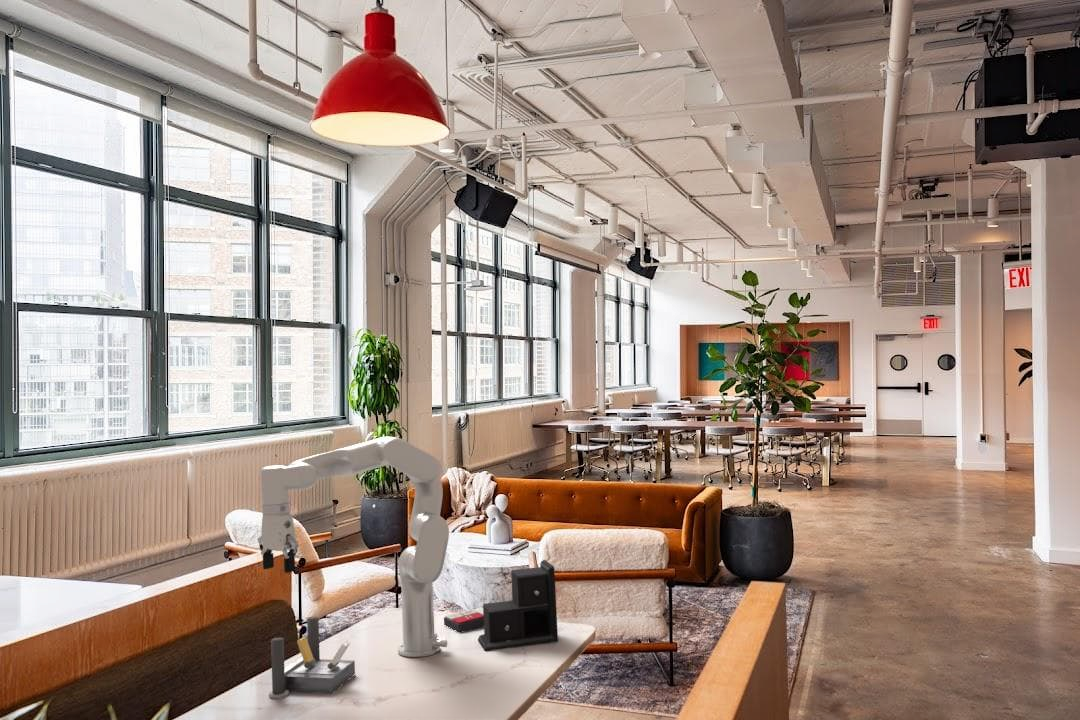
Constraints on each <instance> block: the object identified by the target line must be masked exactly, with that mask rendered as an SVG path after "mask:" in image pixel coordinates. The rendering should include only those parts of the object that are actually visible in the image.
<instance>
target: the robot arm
mask: <svg viewBox="0 0 1080 720" xmlns="http://www.w3.org/2000/svg"><path fill="white" fill-rule="evenodd" d="M385 466H391V467H393V469H395V470H397V471H399V472H401V473H403V474H405V476H406V477H408V478H409V479H410V480H411V482H412V484H413V487H414V500H413V506H412V510H411V514H410V519H409V525H408V533H409V536H410V537H411V538H412V539H413V540H414V541H416V545H412V546H408V547H406V548H405V549H404V550H403V551H402V552H401V554H400V556H399V559H398V574H399V579H400V587H401V614H402V617H401V618H402V619H401V620H402V644H401V645H400V646H399V647H397V648H398V649H397V653H398V654H399V655H401V656H402V657H407V658H408V657H409V658H420V657H421V658H423V657H427V656H431V655H434V654H436V653H438V652H439V651H440V650H441V648H447V647H448V644H449V643H448V640H447V639H446V638H439V637H438V633H435V616H434V615H435V613H434V609H435V608H434V586H433V583H434V582H435V581H437V580H438V578H440V576H441V574H442V571H443V568H444V563H445V560H446V555H447V554H446V553H447V550H448V549H447V548H448V545H449V544H448V543H449V540H450V529H449V525H448V522H447V521H446V519H444V517H442V516H441V509H442V504H443V496H444V494H443V493H444V492H443V491H444V490H443V482H442V480H441V478H440V475H441V471H442V467H441V463H440V461H439V459H437V458H436V457H435V456H434V455H433V454H430V453H429V452H426V451H425V450H423V449H420V448H419V447H417V446H414V445H413V444H411V443H410V442H408V441H406V440H404V439H402V438H401V437H395V436H390V435H389V436H388V435H386V436H381V437H378V438H374V439H371V440H368V441H365V442H360V443H357V444H353V445H350V446H346V447H343V448H338V449H335V450H332V451H327V452H323V453H319V454H315V455H311V456H308V457H304V458H301V459H298V460H295V461H292V462H291V463H289V464H288V465H287V466H286V465H283V464H281V465H280V464H279V465H278V464H275V465H268V466H264V467H262V468H261V470H260V484H261V485H260V487H261V488H260V489H261V509H262V512H261V513H262V517H261V519H262V520H261V535H260V536H259V537H258V538H257V542H258V545H259V546H258V547H259V549H260V553H261V556H262V569H263V570H268V569H273V568H274V566H275V561H274V553H273V551H276V552H282V554H283V556H284V558H283V565H284V566H283V568H284V571H283V572H284V573H285V574H288V573H292V572H295V571H296V556H297V553H298V548H299V546H300V544H299V542H298V541H297V537H296V531H295V530H296V529H295V523H294V519H293V516H292V513H291V501H290V500H291V499H290V497H291V496H290V490H295V491H297V490H299V491H305V490H306V491H307V490H309V489H311V488H313V487H314V486H316V484H317V482H318V481H320V480H324V479H327V478H329V479H330V478H334V477H350V476H356V475H359V474H362V473H365V472H369V471H372V470H374V469H378V468H381V467H385Z"/></svg>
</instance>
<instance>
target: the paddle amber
mask: <svg viewBox="0 0 1080 720" xmlns="http://www.w3.org/2000/svg"><path fill="white" fill-rule="evenodd" d="M296 642H297V645H298V649H299V652H300V654H301V657H303V660H304V663H305V664H304V666H305V668H309V667H310V666H312V665H313V664H314V663H315V662H316V660H315V659H314V658H313V655H312V652H311V650H310V647H309V644H308V637H306V636H304V637H301V638H300V639H298V640H297V641H296Z"/></svg>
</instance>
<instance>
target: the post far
mask: <svg viewBox="0 0 1080 720" xmlns="http://www.w3.org/2000/svg"><path fill="white" fill-rule="evenodd" d="M319 619H320V618H319V616H313V615H312V616H309V617H307V618H306V623H307V624H306V626H307V641H308V644H309V647H310V650H311V652H312V655H313V658H314V659H321V658H320V622H319V621H320V620H319Z"/></svg>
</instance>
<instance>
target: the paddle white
mask: <svg viewBox="0 0 1080 720" xmlns="http://www.w3.org/2000/svg"><path fill="white" fill-rule="evenodd" d="M350 644H351V642H349V640H345V641H344V642H343V643H342V644H341V645H340V647H339V648H338V650H337V652H336V653H335V655H334V656H333V658H332V659H331V660H332V661H331V663H329V664H328V668H329V669H332V668H334V667H335V666H336V665H338V664H339V660H342V657H343V656H344V654H345V652H346V651H347V649H348V648H349V646H350Z"/></svg>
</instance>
